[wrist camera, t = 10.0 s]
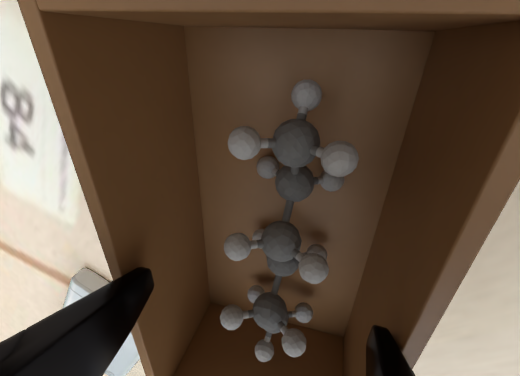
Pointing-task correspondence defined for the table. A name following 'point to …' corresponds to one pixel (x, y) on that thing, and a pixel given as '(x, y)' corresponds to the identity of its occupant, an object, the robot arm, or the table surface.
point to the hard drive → (85, 285)
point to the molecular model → (286, 218)
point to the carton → (264, 190)
